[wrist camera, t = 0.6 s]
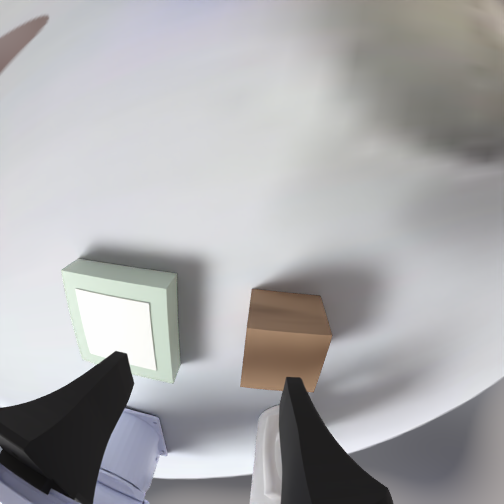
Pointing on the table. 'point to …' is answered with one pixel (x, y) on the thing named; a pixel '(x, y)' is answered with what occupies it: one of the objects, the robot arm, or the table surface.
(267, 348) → the walnut cube
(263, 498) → the mug
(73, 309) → the base plate
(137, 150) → the table surface
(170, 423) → the table surface
